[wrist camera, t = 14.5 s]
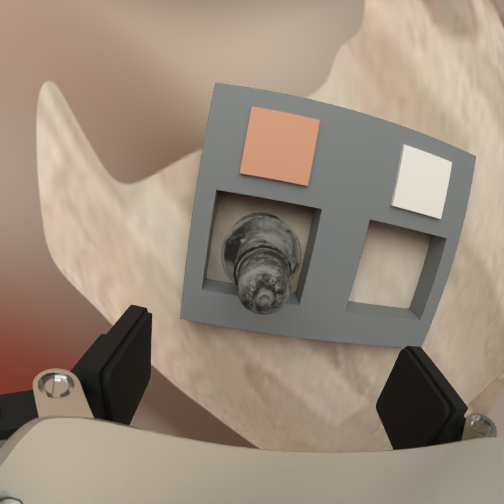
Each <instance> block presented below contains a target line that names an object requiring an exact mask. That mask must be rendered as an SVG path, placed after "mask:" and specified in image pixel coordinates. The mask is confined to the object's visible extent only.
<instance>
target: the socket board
mask: <svg viewBox="0 0 504 504" xmlns="http://www.w3.org/2000/svg"><path fill="white" fill-rule="evenodd" d="M475 159H476V156H474V155H472V154H470V153H468V152H465V151H463V150H461V149H459V148H457V147H454V146H452V145H450V144H447V143H445V142H442V141H440V140H438V139H435V138H433V137H430V136H428V135H425V134H422V133H420V132H417V131H414V130H412V129H409V128H406V127H403V126H401V125H398V124H395V123H392V122H389V121H386V120H383V119H380V118H377V117H373V116H370V115H367V114H364V113H360V112H357V111H353V110H350V109H346V108H343V107H339V106H335V105H331V104H327V103H323V102H319V101H315V100H311V99H306V98H302V97H297V96H293V95H288V94H283V93H278V92H272V91H267V90H261V89H255V88H249V87H242V86H236V85H228V84H220V83H215V86H214V91H213V96H212V101H211V106H210V111H209V116H208V121H207V127H206V132H205V138H204V144H203V149H202V155H201V161H200V167H199V173H198V179H197V186H196V192H195V199H194V206H193V213H192V220H191V227H190V235H189V243H188V251H187V259H186V268H185V276H184V286H183V295H182V305H181V316H180V319H183V320H189V321H194V322H199V323H205V324H211V325H216V326H222V327H228V328H234V329H240V330H247V331H253V332H260V333H267V334H274V335H281V336H289V337H297V338H305V339H314V340H322V341H332V342H342V343H352V344H364V345H376V346H390V347H406V346H418V347H422V344H423V342H424V340H425V337H426V335H427V333H428V330H429V328H430V325H431V323H432V320H433V318H434V315H435V312H436V310H437V307H438V304H439V302H440V299H441V296H442V293H443V290H444V287H445V284H446V281H447V278H448V275H449V272H450V269H451V266H452V262H453V259H454V256H455V252H456V249H457V245H458V241H459V238H460V234H461V230H462V226H463V222H464V218H465V213H466V209H467V204H468V199H469V194H470V189H471V184H472V178H473V172H474V166H475ZM219 190H221V191H227V192H233V193H239V194H245V195H251V196H256V197H262V198H267V199H273V200H278V201H284V202H289V203H294V204H299V205H304V206H309V207H314V208H315V211H314V215H313V220H312V225H311V229H310V234H309V239H308V243H307V247H306V252H305V256H304V261H303V265H302V269H301V273H300V278H299V282H298V286H297V290H296V294H295V293H290V297H289V299H288V301H287V303H286V304H285V305H284V306H283V307H282V308H281V309H280V310H278V311H277V312H274V313H272V314H266V315H262V314H256V313H253V312H251V311H249V310H247V309H246V308H245V307H244V306H243V305H242V303H241V301H240V299H239V297H238V292H237V290H238V287H237V285H236V284H233V283H227V282H221V281H215V280H209V279H206V274H207V267H208V260H209V253H210V246H211V239H212V233H213V226H214V220H215V213H216V207H217V201H218V194H219ZM370 220H375V221H379V222H383V223H388V224H392V225H396V226H400V227H404V228H408V229H412V230H416V231H420V232H424V233H428V234H432V238H431V242H430V246H429V249H428V253H427V256H426V260H425V263H424V266H423V270H422V273H421V276H420V279H419V282H418V286H417V289H416V292H415V294H414V297H413V300H412V303H411V306H410V309H403V308H395V307H387V306H379V305H372V304H364V303H357V302H349V301H348V299H349V296H350V293H351V289H352V286H353V282H354V279H355V275H356V272H357V268H358V265H359V261H360V257H361V253H362V249H363V246H364V242H365V238H366V234H367V230H368V225H369V221H370Z"/></svg>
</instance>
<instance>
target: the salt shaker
mask: <svg viewBox="0 0 504 504" xmlns="http://www.w3.org/2000/svg"><path fill="white" fill-rule="evenodd" d="M221 259H222V264H223V268H224V270H225V272H226V273H227V275H228V277H229V278H230V279H231V280H232V281H233V282H234V283H235V284H236V285H237V287H238V290H237V292H238V297H239V299H240V301H241V303H242V305H243V306H244V307H245V308H246V309H247V310H249V311H251V312H253V313H256V314H262V315H266V314H272V313H274V312H277V311H278V310H280V309H281V308H282V307H283V306H284V305H285V304H286V303H287V301H288V299H289V297H290V292H291V285H290V281H291V279H292V278H293V277H294V275H295V274H296V272H297V270H298V268H299V265H300V261H301V248H300V243H299V241H298V238H297V236H296V234H295V233H294V232H293V230H292V229H291V228H290V227H289V226H288V225H287V224H285V223H284V222H282V221H281V220H280V219H279V218H277V217H276V216H273V215H271V214H268V213H254V214H250V215H248V216H246V217H243V218H242V219H241V220H240V221H239V222H237V223H236V225H235V226H234V227H233V228H232V229H231V230H230V231H229V233H228V234H227V236H226V237H225V239H224V242H223V245H222V252H221Z"/></svg>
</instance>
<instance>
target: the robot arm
mask: <svg viewBox="0 0 504 504" xmlns="http://www.w3.org/2000/svg"><path fill="white" fill-rule="evenodd" d="M151 333H152V313H148V310H147V308H144V307H140V306H136V305H131V306H130V307H129V308H128V309H127V310H126V311H125V313H124V314H123V315H122V316H121V317H120V319H119V320H118V321H117V322H116V323H115V325H114V326H113V327H112V328H111V329H110V331H109V332H108V333H107V334H101V335H100V336H99V337H98V339H97V340H96V341H95V342H94V343H93V345H92V346H91V347H90V348H89V349H88V351H87V352H86V353H85V354H84V355H83V357H82V358H81V359H80V360H79V362H78V363H77V364H76V365H75V366H74V368H73V369H72V370H71V371H70V372H69V371H67V370H63V369H50V370H45V371H43V372H41V373H40V374H38V375H37V376H36V377H35V379H34V381H33V390H28V391H22V392H16V393H9V394H2V395H0V504H504V438H499V437H496V434H497V430H496V426H495V424H494V423H493V421H492V420H491V419H489V418H488V417H487V416H485V415H482V414H479V413H472V414H469V415H468V416H467V417H466V418H465V417H464V414H465V412H466V411H467V409H468V407H467V406H466V404H465V403H464V402H463V400H462V399H461V398H460V396H459V395H458V394H457V392H456V391H455V390H454V388H453V387H452V386H451V385H450V383H449V382H448V381H447V379H446V378H445V377H444V376H443V374H442V373H441V372H440V370H439V369H438V368H437V367H436V365H435V364H434V363H433V362H432V360H431V359H430V358H429V357H428V355H427V354H426V353H425V352H424V350H423V349H422V348H421V347H418V346H406V347H405V348H404V349H402V350H401V351H400V353H399V355H398V358H397V360H396V362H395V364H394V367H393V369H392V371H391V373H390V376H389V378H388V380H387V382H386V384H385V386H384V388H383V390H382V392H381V394H380V396H379V398H378V400H377V403H376V410H377V412H378V415H379V417H380V419H381V421H382V424H383V426H384V428H385V431H386V433H387V435H388V438H389V440H390V442H391V445H392V447H393V449H394V450H386V451H370V452H294V451H278V450H265V449H255V448H245V447H237V446H230V445H222V444H216V443H210V442H203V441H198V440H193V439H187V438H182V437H178V436H173V435H168V434H164V433H159V432H154V431H150V430H146V429H141V428H137V427H133V426H129V424H130V422H131V420H132V418H133V416H134V414H135V411H136V409H137V407H138V405H139V402H140V400H141V398H142V396H143V394H144V391H145V389H146V387H147V385H148V382H149V380H150V374H151Z"/></svg>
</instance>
